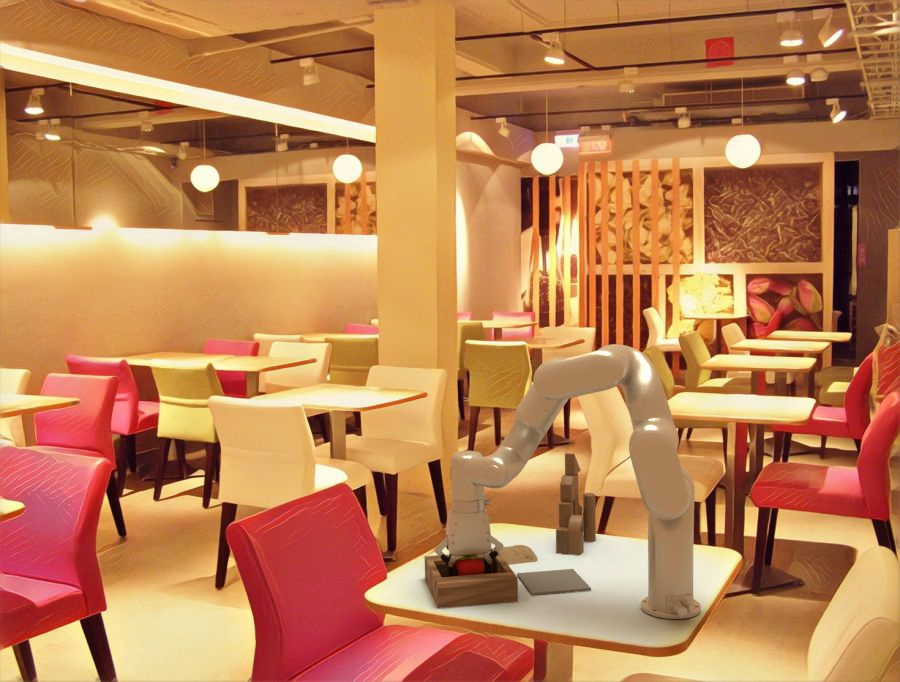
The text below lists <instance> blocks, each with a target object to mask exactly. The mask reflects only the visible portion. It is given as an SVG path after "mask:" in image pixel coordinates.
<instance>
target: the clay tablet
mask: <svg viewBox="0 0 900 682" xmlns="http://www.w3.org/2000/svg"><path fill="white" fill-rule="evenodd" d="M494 548H495V546H494V547H491V551H492V550H493V549H494ZM499 553H500V555H501V556H502V557H503V559H504V560H505V561H506V563H507V564H508V565H509V566H511V565H517V564H527V563H528V564H529V563H537V562H538V557H537V555H536V553H535V552H534V551H533V550H532V548H531V547H529V546H528V545H525V544H516V545H510V546H509V545H508V546H503V548H502V550H501V551H500V552H499ZM536 561H537V562H536Z"/></svg>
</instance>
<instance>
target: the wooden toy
mask: <svg viewBox="0 0 900 682" xmlns="http://www.w3.org/2000/svg"><path fill="white" fill-rule="evenodd" d="M581 471H582V470H581V467H580V465H579V462H578V460H577V457H576V454H575V453H571V452H570V453H569V452H566V453H565V454H564V474H563V475H562V476H561V479H560V483H559V488H560V489H559V491H560V493H559V495H560V496H559V499H560V501H559V502H558V527H557V528H556V529H555V553H556V554H558V553H562V554H561V555H570V554H575V555H574V556H579V555H580V556H581V555H582V554H583V553H584V552H585V551H584V548H585V547H584V544H585V543H584V541H585V542H586V541H587V542H588V543H592V542H593V543H594V542H595V541H596V539H597V538H596V536H597V533H596V524H597V523H596V494H595V493H592V492H585V493H583V494H582V496H583V498H582V499H583V500H582V501H583V503H582V504H583V505H582V506H581V505H580V500H579V473H580V472H581Z"/></svg>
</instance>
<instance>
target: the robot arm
mask: <svg viewBox="0 0 900 682" xmlns="http://www.w3.org/2000/svg"><path fill="white" fill-rule="evenodd" d="M532 382H533V383H532V384H531V385H530V387H529V389H528V390H527V392H526V393H525V395H524V396H523V397H522V399H521V401H520V402H519V403H518V405H517V407H516V409H515V411H514V421H513V424H512V426H510V427H511V428H510V429H509V430H508V432H507V435H506V436H505V437H504V439H503V441H502V442H501V443H500V445H499V446H498V448H497V449H496V451H494V452H493V453H492V454H490V455H487V456H484V455H483V454H482V453H480V451H475V450H461V451H460V450H459V451H457V452H454V453H453V454H452V455H451V457H450V467H451V473H450V480H451V483H450V484H451V486H450V487H451V509H449V510H448V512H447V516H446V517H447V519H446V526H445V527H446V529H445V538H444V539H443V540H442V541H440V543H439V544H438V545H437V546H435V547H434V549H433V550H434V553H435V554H436V555H438V556H439V557H440V558H441V559H442V560H443V561H444V562H445V563H446V564H447V565H448V577H454V576H456V568H455V566H454V562H455V560H456V558H457V556H462V555H476V554H482V555H483V556H484V558H485V559H484V560H483V562H484V565H485V570H484V574H491V563H492V561H493V560H494V559H495V558H496V557H497V555H498V553H499V552H500V551H501V550H502V548H503V547H504V544H503V543H502V542H501V541H500V540H498V539H497V538H495V537H494V536H493V535H492V533H491V524H490V518H489V513H488V510H487V508H486V507H487V506H489V505H491V503H492V502H491V499H490V498H486V497H485V488H489V489H496V490H498V489H502V488H504V487H506V486H508V485H509V484H510V483H511V482H512V481H513V480H514V479H515V478H517V477H518V476H519V474H520V473H521V472H522V471H523V469H524V468H525V466H526V465H527V463H528V461H530V459H531V457H532V456H533V454H534V453H535V451H536V450H537V448H538V446H539V445H540V443H541V442H542V440H543V438H544V437H545V436H546V435H547V433H548V431H549V429H550V428H551V426H552V425H553V424H554V422H555V420H556V419H557V417H558V416H559V414H560V412H561V411H562V409H563V408H564V407H565V405H566V403H567V402H568V400H570V399H572V398H573V399H574V398H576V397H580V396H586V395H590V394H594V393H599V392H604V391H608V390H611V389H613V388H616V387H618V386H620V387H621V389H622V391H623V394H624V399H625V404H626V409H627V410H628V413H629V417H630V421H631V424H632V425H631V426H632V430H633V431H632V434H630V438H629V441H628V442H629V443H628V451H629V458H630V460H631V465H632V468H633V471H634V475H635V479H636V481H637V486H638V490H639V493H640V497H641V500H642V503H643V505H644V507H645V509H646V511H648V517H647V519H648V520H647V521H648V522H647V528H648V529H647V536H648V537H647V541H648V542H647V550H648V551H647V565H648V566H647V569H648V570H647V571H648V572H647V573H648V574H647V580H648V581H647V584H648V585H647V586H648V587H647V591H648V592H647V593H648V594H647V596H646V597H644V598H643V599H641V602H640V608H641V609H642V611H643V612H645V613H646V614H648V615H650V616H653V617H655V618H659V619H660V618H661V619H667V620H684V619H689V618H693V617H696V616H698V615H699V614H700V613H701V612H702V611H701V610H702V608H701V607H702V606H701V604H700V602H699V601H698V600H696V599H694V538H695V537H694V536H695V535H694V532H695V531H694V530H695V529H694V526H695V525H694V524H695V495H696V494H695V493H696V491H695V488H696V487H695V482H694V479H693V476H692V475H691V473H690V472H689V470H687V469H686V468H685V467H683V466H682V464H681V461H680V458H679V454H678V447H679V443H680V439H679V433H678V430H677V428H676V425H675V423H674V419H673V415H672V412H671V409H670V405H669V401H668V399H667V396H666V393H665V390H664V386H663V383H662V380H661V377H660V374H659V372H658V370H657V367H656V366H655V365H654V363H653V362H652V361H651V360H650V359H649V358H648V356H647V355H645V354H644V353H643V352H641V351H640V350H638V349H636V348H635V347H632V346H629V345H625V344H619V343H615V344H613V343H612V344H607V345H604V346H601V347H600V348H599V349H597V350H594V351H590V352H587V353H586V352H585V353H582V354H579V355H575V356H571V357H564V356H563V357H560V356H558V357H553V358H551V359H548V360H547V361H545V362H543V363H542V364H540V365H539V366H538V368H537V369H536V370H535V372H534V374H533V381H532ZM492 545H494V547H495V548H494V547H493V548H494V549H493V550H492V551H491V548H492ZM444 549H446V550H447V551H448V554H445V552H443V550H444ZM490 551H491V552H490ZM488 552H490V553H489V554H488ZM446 555H448V557H447V556H446Z"/></svg>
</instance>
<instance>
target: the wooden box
mask: <svg viewBox="0 0 900 682" xmlns="http://www.w3.org/2000/svg"><path fill="white" fill-rule="evenodd" d="M490 552H491V551H490ZM490 552H488V554H489V553H490ZM445 555H446V556H447V557H448V555H449V554H445ZM476 556H480V557H475V558H478V559H480V560H482V561H483V560H484V559H485V558H484V556H483V555H482V554H477V555H476ZM462 557H464V556H457V558H456V560H457V559H458V558H462ZM456 560H455V561H456ZM424 579H425V582H426V584H427V586H428V588H429V590H431V591H430V592H431V595H432V597H433V600H434V599H435V600H434V601H435V604H436V603H437V604H436V606H437V608H438V607H448V608H457V607H459V608H460V607H468V606H469V607H470V606H481V605H493V604H505V603H506V604H507V603H518V602H519V595H518V594H519V591H518V590H519V589H518V587H519V586H518V585H519V584H518V583H519V581H518V579H519V578H518V576H517V574H516V573H515V572H514V571H513V569H512V568H511V567H510V565H508V564H507V563H506V561H505V560H504V559H503V557H502V556H501V555H500V553H498V555H497V557H496V558H495V559H494V560H493V561H492V563H491V574H480V575H467V576H457V575H456V576H454V577H448V565H447V564H446V563H445V562H444V561H443V560H442V559H441V558H440V557H439V556H438V555H437V554H436V555H425V556H424Z"/></svg>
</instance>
